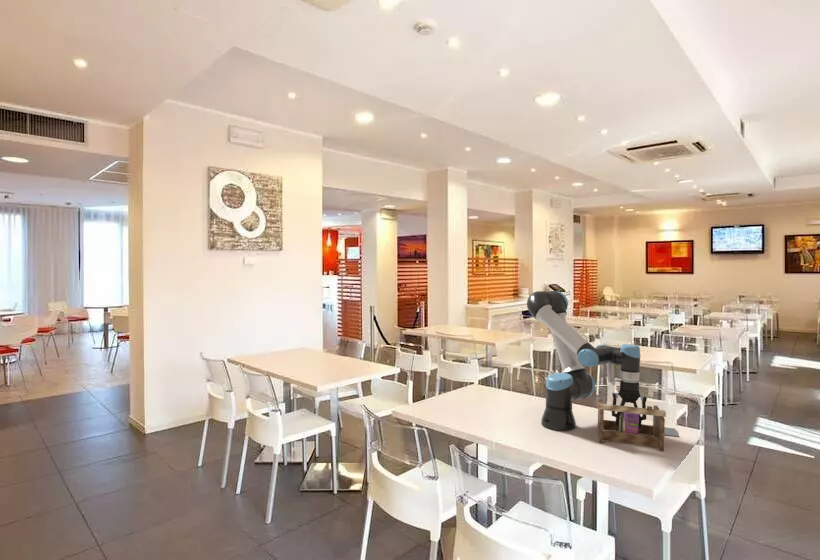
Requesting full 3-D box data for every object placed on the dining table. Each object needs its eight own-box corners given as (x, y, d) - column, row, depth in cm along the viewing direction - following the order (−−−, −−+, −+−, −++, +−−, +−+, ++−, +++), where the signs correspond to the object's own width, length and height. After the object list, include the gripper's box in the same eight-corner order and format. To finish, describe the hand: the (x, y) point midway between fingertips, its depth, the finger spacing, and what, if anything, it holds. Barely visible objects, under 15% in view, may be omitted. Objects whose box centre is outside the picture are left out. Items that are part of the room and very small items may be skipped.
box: (638, 442, 197) (639, 414, 197) (623, 440, 198) (624, 413, 198) (632, 433, 207) (632, 407, 207) (618, 432, 208) (618, 406, 208)
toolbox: (599, 442, 196) (599, 411, 195) (597, 427, 215) (598, 399, 214) (663, 451, 187) (664, 419, 187) (656, 435, 206) (657, 405, 206)
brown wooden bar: (597, 409, 198) (597, 402, 198) (597, 407, 201) (597, 400, 201) (665, 416, 189) (665, 409, 189) (664, 414, 192) (664, 407, 192)
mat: (653, 434, 207) (653, 433, 207) (650, 426, 218) (650, 425, 218) (679, 437, 204) (679, 436, 204) (674, 429, 214) (674, 428, 214)
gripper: (606, 380, 202) (604, 433, 203) (655, 385, 195) (654, 440, 196) (605, 376, 209) (603, 428, 210) (653, 381, 202) (651, 434, 203)
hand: (628, 433), depth 203 cm, fingers closed on box, 6 cm apart
